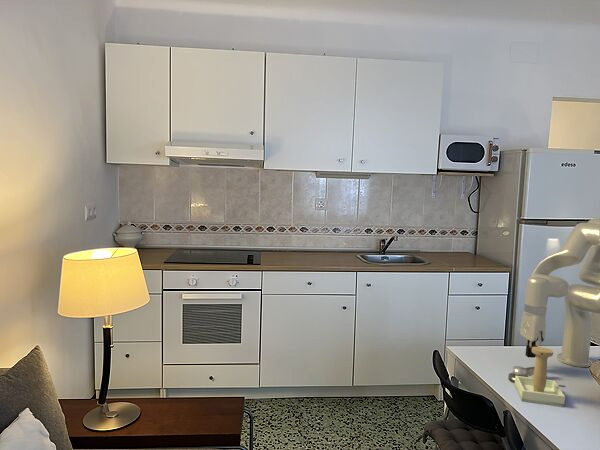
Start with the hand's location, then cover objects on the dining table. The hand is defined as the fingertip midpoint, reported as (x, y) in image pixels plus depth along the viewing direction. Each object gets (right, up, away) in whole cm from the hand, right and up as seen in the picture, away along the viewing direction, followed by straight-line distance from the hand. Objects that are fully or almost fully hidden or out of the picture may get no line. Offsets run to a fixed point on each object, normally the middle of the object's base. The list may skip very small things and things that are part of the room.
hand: (530, 356), depth 182 cm
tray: (-8, -7, -21) cm, 24 cm away
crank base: (-3, -6, -11) cm, 13 cm away
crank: (-4, -4, -8) cm, 10 cm away
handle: (-7, -7, -21) cm, 23 cm away
